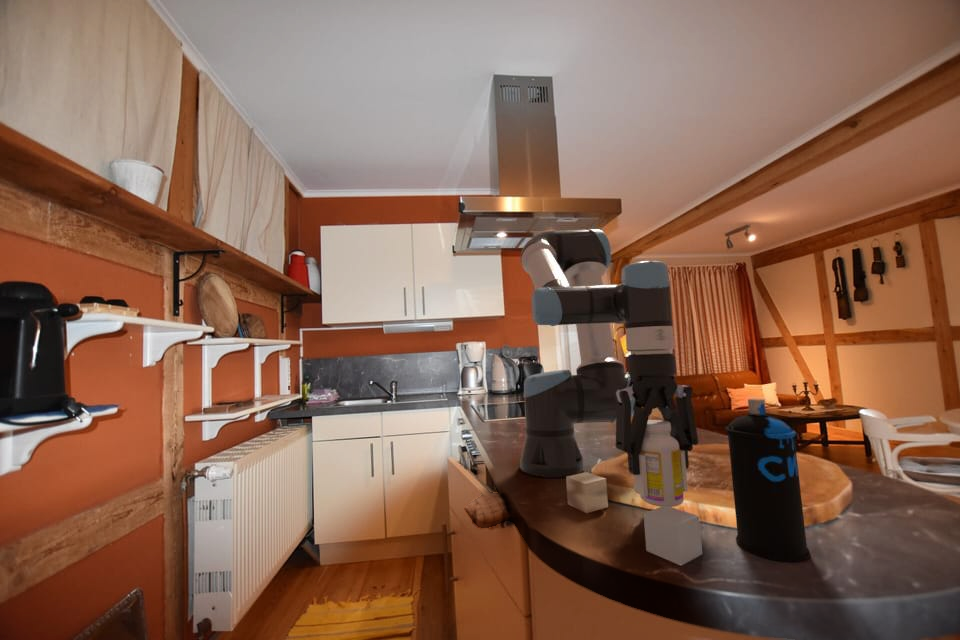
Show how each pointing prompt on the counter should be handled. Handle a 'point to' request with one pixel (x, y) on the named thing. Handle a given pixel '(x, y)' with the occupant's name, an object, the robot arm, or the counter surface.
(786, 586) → the counter surface
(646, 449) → the supplement bottle
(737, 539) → the aerosol can
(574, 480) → the birch block
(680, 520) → the grey block
